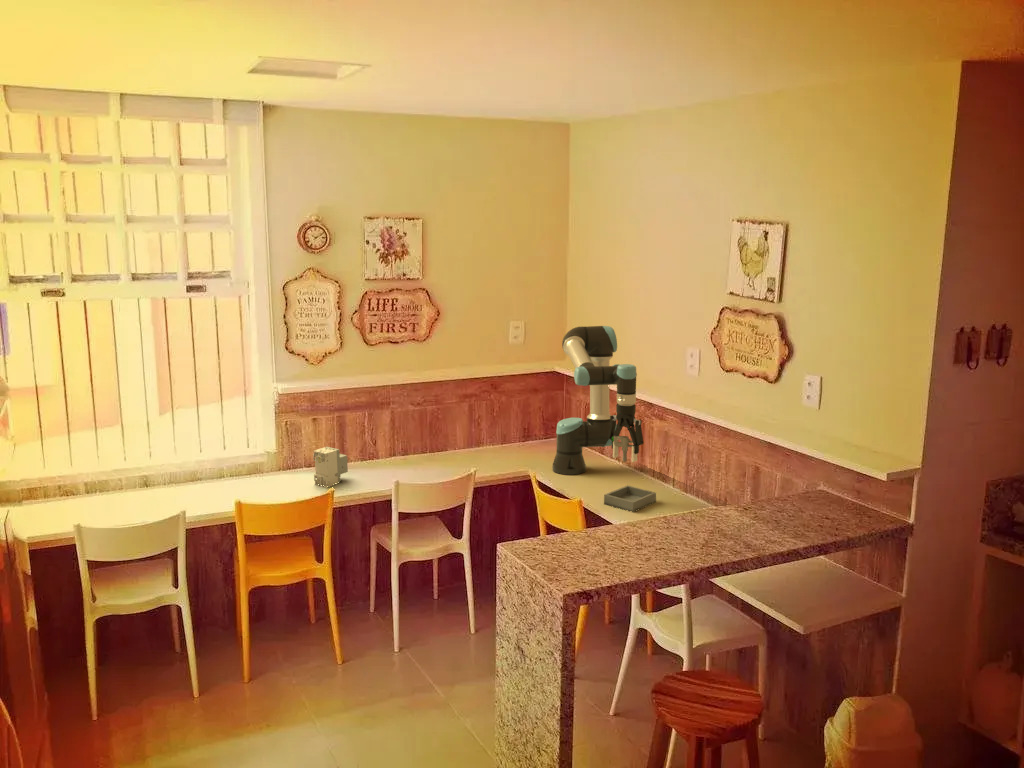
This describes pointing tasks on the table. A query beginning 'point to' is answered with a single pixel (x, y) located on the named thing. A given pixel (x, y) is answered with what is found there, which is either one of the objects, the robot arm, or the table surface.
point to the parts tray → (630, 498)
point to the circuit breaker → (329, 466)
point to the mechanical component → (622, 444)
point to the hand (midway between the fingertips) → (624, 459)
